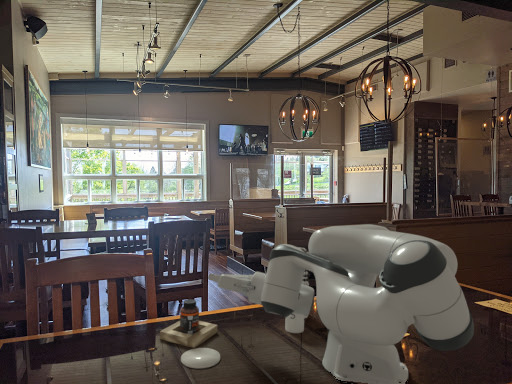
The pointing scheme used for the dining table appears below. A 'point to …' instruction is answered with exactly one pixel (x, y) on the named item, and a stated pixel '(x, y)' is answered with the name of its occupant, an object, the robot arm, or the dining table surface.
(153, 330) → the dining table surface
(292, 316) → the candle
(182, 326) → the supplement bottle
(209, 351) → the coaster
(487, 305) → the dining table surface
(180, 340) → the square frame
